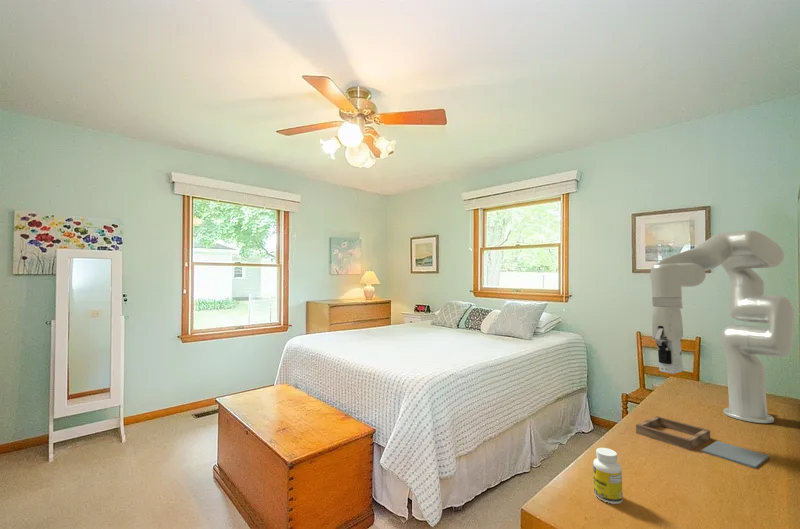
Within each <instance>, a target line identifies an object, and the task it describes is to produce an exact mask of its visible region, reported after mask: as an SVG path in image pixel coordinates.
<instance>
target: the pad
mask: <svg viewBox="0 0 800 529" xmlns="http://www.w3.org/2000/svg"><path fill="white" fill-rule="evenodd" d="M701 452H702V453H704V454H707V455H711V456H714V457H717V458H721V459H723V460H727V461H730V462H733V463H737V464H739V465H742V466H746V467H749V468H753V469H754V470H755V469H757V468H759V466H761V465H762V464H763V463H764V462H766V461H767V460H768V459H770V455H769V454H764V453H761V452H758V451H755V450H751V449H747V448H744V447H741V446H736V445H733V444H730V443H726V442H722V441H720V440H715V441H714V442H713V443H710V444H709V445H707V446H705V447H704V448H702V449H701ZM765 460H766V461H765Z"/></svg>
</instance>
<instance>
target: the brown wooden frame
mask: <svg viewBox="0 0 800 529" xmlns="http://www.w3.org/2000/svg"><path fill="white" fill-rule="evenodd" d="M658 427H663V428H666V429H670V430H674V431H676V430H677V432H680V433H683V432H684V433H683V434H687V435H689V437H687V438H686V437H683V436H680V435H677V434H676V435H675V434H672V433H670V432H665V431H664V430H663V431H662V430H659V429H656V428H658ZM637 433H639V434H638V435H641V434H642V435H641V436H644V437H648V438H651V439H654V440H657V441H660V442H662V443H666V444H670V445H671V446H672V445H673V446H676V447H678V446H679V448H682V449H685V450H689V451H691V450H694V449H695V448H697V447H699V446H700V445H702V444H704V443H706V442H707V441H709V440H711V430H709V429H708V428H707V429H706V428H703V427H700V426H695V425H692V424H688V423H685V422H680V421H677V420H673V419H669V418H665V417H662V416H658V415H657V416H654V417H652V418H649V419H647V420H645V421H644V420H643V421H642V422H640V423H637V424H635V434H637ZM690 435H691V436H690Z"/></svg>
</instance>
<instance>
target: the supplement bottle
mask: <svg viewBox="0 0 800 529" xmlns="http://www.w3.org/2000/svg"><path fill="white" fill-rule="evenodd" d="M595 454H596V458H595V459H593V463H592V466H593V467H592V469H593V489H594V491H593V492H594V495H595V494H596V496H597V497H598V498H600V499H602V500H603V501H606V502H608V503H607V504H609V503H611V504H610V505H619V504H622V502H623V500H624V497H623V476H622V465H621V464H620V463H619V462H618V453H617V452H616V451H615V450H613V449H611V448H608V447H598V448H596V451H595ZM596 496H595V497H596ZM597 497H596V498H597ZM598 498H597V499H598ZM600 499H599V500H600ZM603 501H602V502H603ZM606 502H605V503H606Z"/></svg>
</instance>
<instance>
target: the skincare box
mask: <svg viewBox="0 0 800 529" xmlns="http://www.w3.org/2000/svg"><path fill="white" fill-rule="evenodd" d="M662 339H664V340H667V338H662ZM664 343H665V345H666V342H664ZM681 343H682V339H681V340H680V339H677V340H672V341H670V348H669V351H671V362H672V363H671V364H665V363H659V362H658V370H659V371H660V372H662V373H666V374H671V375H675V374H678V373H681V372H684V368H683V367H684V366H683V356H682V344H681Z"/></svg>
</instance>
